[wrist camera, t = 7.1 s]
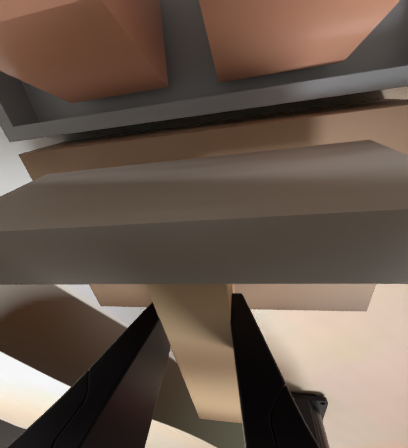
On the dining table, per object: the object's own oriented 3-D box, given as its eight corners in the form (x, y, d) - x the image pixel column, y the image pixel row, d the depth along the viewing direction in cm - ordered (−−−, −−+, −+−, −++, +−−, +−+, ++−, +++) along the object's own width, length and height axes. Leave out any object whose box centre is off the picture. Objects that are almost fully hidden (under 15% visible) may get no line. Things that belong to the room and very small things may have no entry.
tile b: (97, -5, 4) (69, -200, 4) (-69, 39, 5) (-112, -118, 5) (168, 86, 9) (159, 0, 8) (71, 103, 10) (57, 25, 9)
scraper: (311, 367, 13) (337, 461, 10) (146, 357, 15) (121, 433, 12) (369, 139, 6) (519, 202, 3) (46, 174, 8) (-80, 235, 5)
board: (343, 272, 14) (366, 311, 12) (121, 274, 17) (100, 306, 15) (385, 99, 9) (441, 100, 7) (64, 141, 12) (18, 154, 10)
